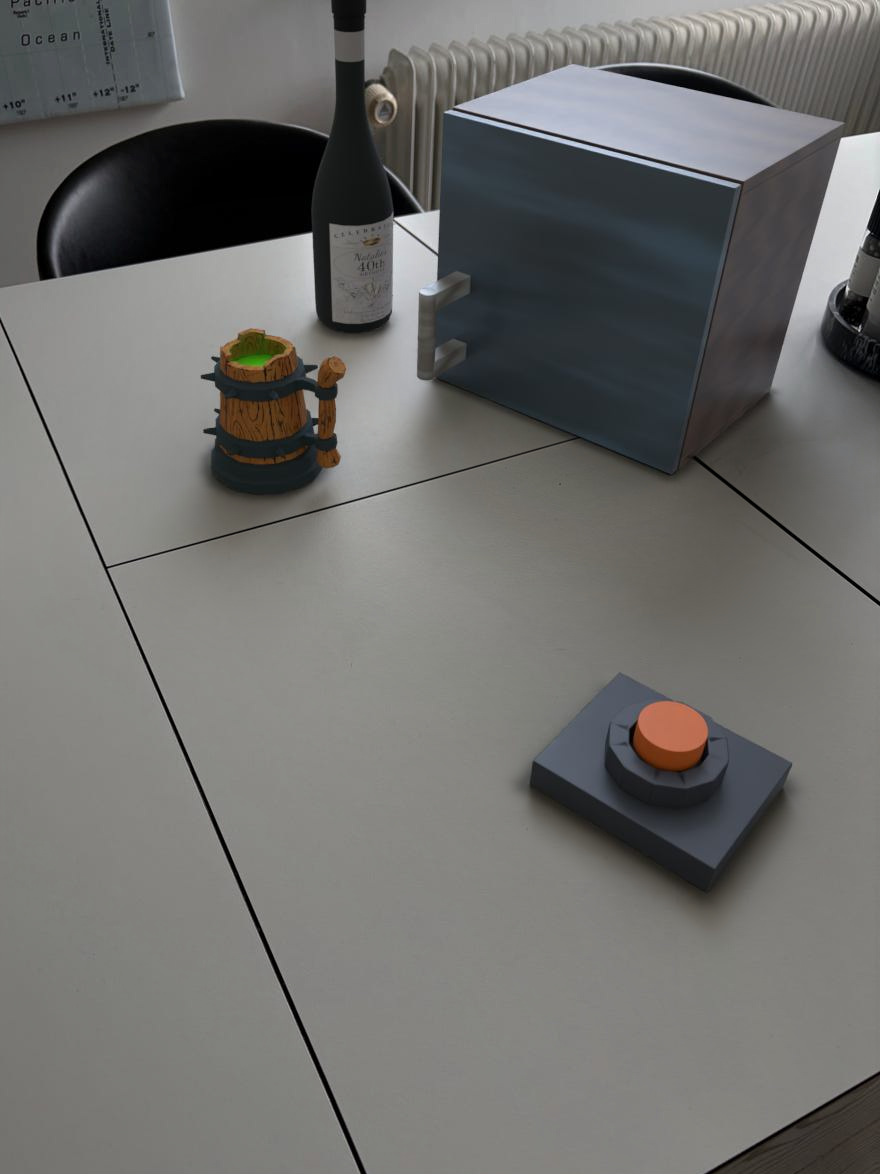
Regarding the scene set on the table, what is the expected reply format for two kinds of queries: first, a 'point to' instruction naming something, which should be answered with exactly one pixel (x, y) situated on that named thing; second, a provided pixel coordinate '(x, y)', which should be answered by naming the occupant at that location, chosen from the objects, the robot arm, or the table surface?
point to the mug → (271, 415)
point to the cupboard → (720, 150)
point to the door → (574, 283)
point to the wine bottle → (352, 197)
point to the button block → (660, 784)
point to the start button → (670, 736)
